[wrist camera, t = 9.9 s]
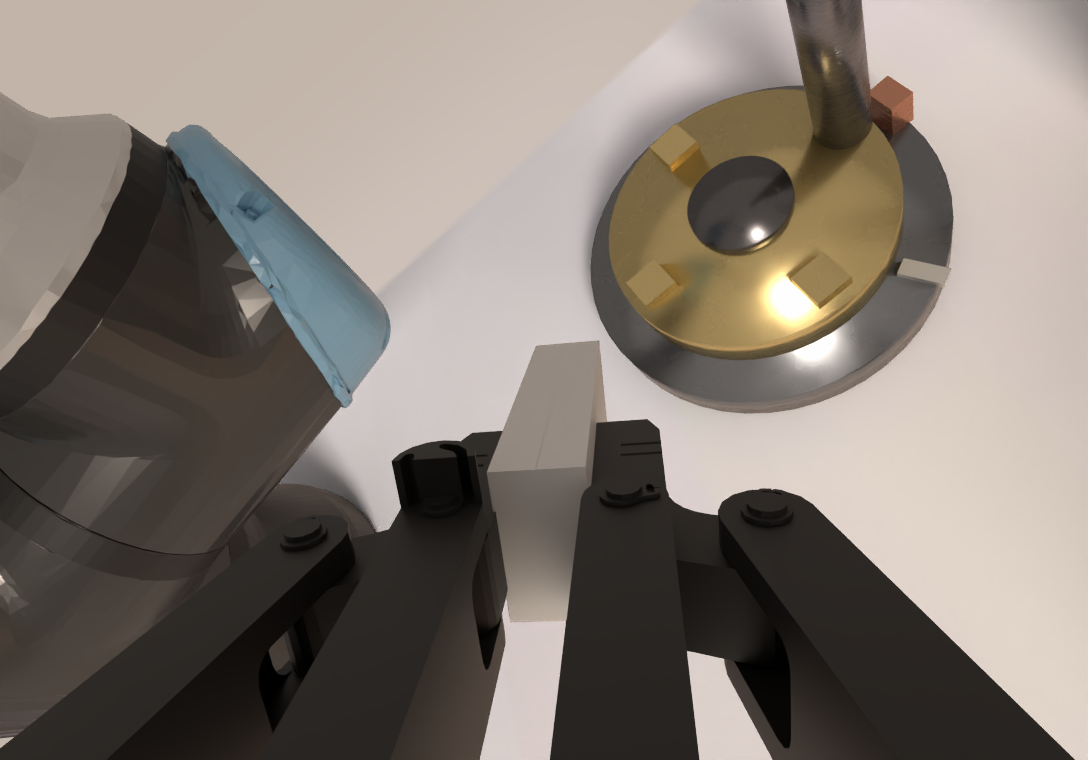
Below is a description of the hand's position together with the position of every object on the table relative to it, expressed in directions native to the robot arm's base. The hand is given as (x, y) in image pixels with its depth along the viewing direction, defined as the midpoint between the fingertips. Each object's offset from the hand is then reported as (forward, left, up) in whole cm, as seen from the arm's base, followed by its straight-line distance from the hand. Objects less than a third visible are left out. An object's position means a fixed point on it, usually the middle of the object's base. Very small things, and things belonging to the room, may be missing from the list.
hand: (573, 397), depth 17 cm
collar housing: (-4, +14, -20) cm, 25 cm away
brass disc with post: (-4, +14, -18) cm, 23 cm away
